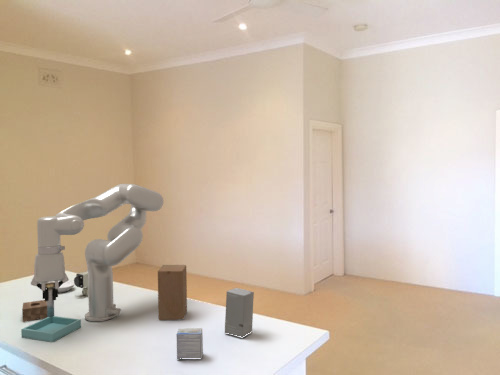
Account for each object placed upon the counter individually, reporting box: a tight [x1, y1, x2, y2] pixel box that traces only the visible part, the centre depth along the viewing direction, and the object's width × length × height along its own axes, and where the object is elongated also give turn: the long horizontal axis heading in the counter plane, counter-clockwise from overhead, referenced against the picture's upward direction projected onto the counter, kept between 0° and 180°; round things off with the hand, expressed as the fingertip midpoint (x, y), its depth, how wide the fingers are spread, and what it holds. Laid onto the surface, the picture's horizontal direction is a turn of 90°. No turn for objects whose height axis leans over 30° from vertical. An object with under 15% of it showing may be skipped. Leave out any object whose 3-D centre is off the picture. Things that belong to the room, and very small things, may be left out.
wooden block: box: [157, 264, 188, 321], centre depth 167 cm, size 10×10×20 cm
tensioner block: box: [21, 299, 47, 323], centre depth 168 cm, size 9×9×5 cm
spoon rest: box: [41, 279, 75, 294], centre depth 206 cm, size 24×12×7 cm, turn 53°
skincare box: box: [224, 287, 255, 337], centre depth 148 cm, size 8×7×16 cm
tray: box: [20, 315, 82, 343], centre depth 151 cm, size 14×14×3 cm
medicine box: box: [175, 327, 204, 360], centre depth 131 cm, size 8×4×9 cm, turn 92°
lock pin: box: [45, 282, 55, 317], centre depth 151 cm, size 4×4×12 cm
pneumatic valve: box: [73, 269, 88, 297], centre depth 196 cm, size 6×12×12 cm, turn 144°
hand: (50, 299), depth 151 cm, fingers closed on lock pin, 2 cm apart
